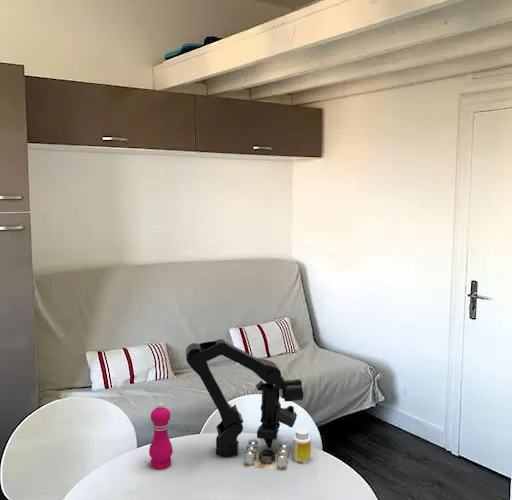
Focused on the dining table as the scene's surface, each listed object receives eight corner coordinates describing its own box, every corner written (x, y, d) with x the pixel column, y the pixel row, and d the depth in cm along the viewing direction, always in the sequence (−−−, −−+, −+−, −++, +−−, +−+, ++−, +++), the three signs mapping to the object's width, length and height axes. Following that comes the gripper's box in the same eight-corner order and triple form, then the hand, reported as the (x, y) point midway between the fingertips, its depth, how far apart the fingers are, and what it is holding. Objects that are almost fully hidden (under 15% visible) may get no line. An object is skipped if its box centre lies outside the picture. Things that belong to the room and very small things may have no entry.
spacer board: (241, 476, 173) (241, 473, 173) (248, 454, 187) (248, 451, 187) (284, 480, 172) (284, 477, 171) (288, 457, 185) (288, 454, 185)
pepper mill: (144, 467, 178) (143, 405, 176) (157, 457, 185) (156, 397, 182) (165, 472, 175) (164, 409, 173) (177, 461, 182) (176, 400, 179)
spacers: (243, 466, 177) (243, 454, 177) (249, 450, 188) (249, 439, 187) (286, 470, 175) (286, 457, 175) (289, 454, 186) (289, 442, 185)
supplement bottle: (313, 462, 182) (314, 431, 181) (301, 468, 179) (301, 436, 178) (301, 456, 187) (302, 425, 185) (289, 461, 183) (289, 430, 182)
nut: (257, 463, 179) (257, 455, 179) (259, 456, 184) (259, 448, 183) (274, 464, 179) (274, 457, 178) (275, 457, 183) (276, 450, 183)
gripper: (293, 415, 176) (292, 463, 178) (297, 392, 194) (296, 436, 196) (257, 412, 178) (256, 460, 180) (264, 390, 196) (263, 434, 198)
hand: (269, 447), depth 188 cm, fingers closed
